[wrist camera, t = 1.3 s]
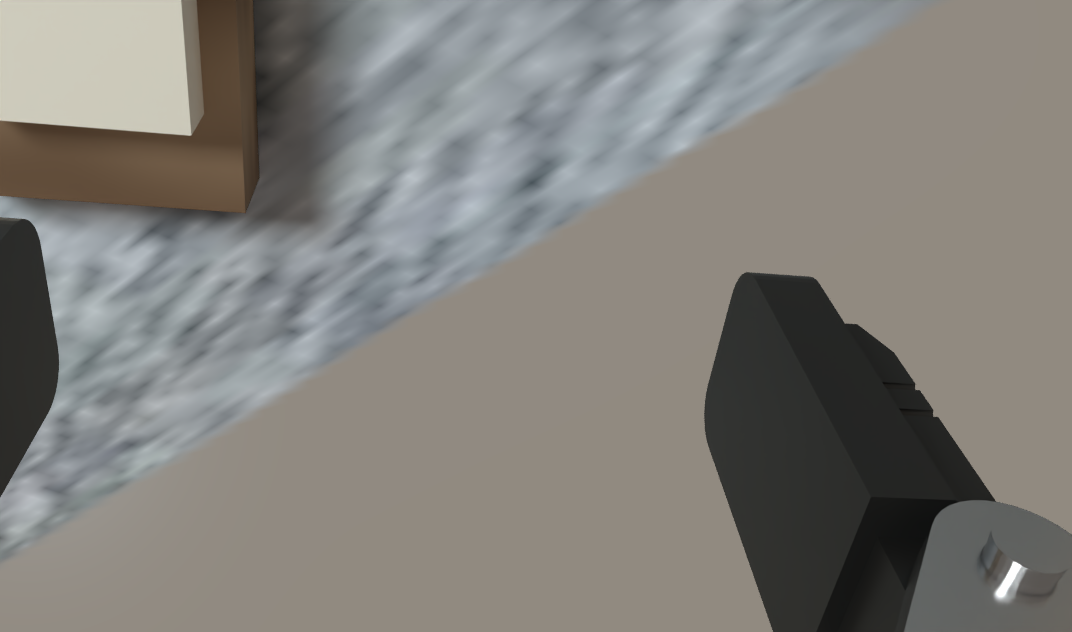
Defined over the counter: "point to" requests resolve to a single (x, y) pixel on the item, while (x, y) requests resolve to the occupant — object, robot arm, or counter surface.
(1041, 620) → the robot arm
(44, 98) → the cream flat block
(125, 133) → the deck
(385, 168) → the counter surface
